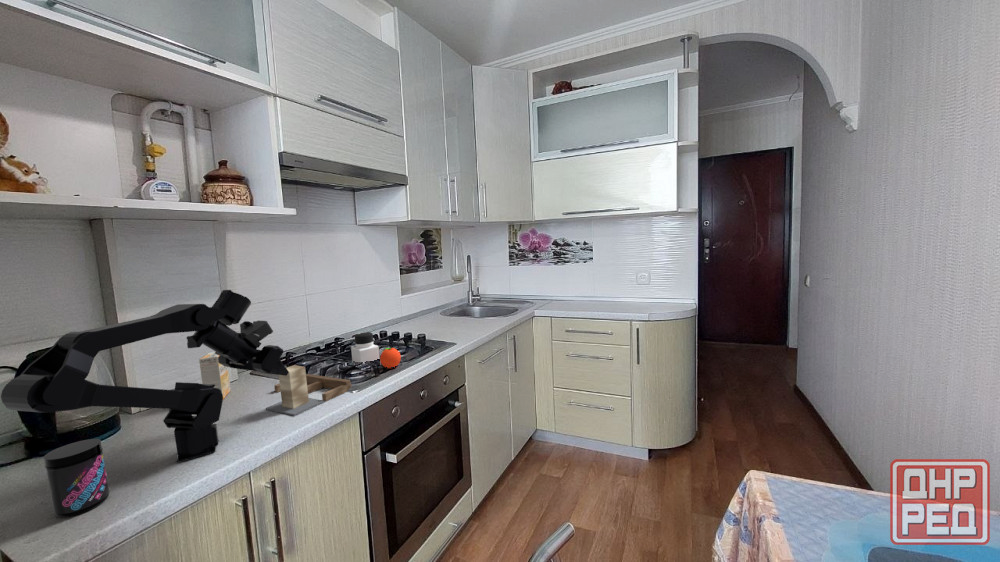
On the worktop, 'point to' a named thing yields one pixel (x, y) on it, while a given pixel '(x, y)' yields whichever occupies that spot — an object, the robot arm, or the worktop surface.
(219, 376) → the supplement box
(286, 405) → the beech block
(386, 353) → the clementine
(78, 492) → the supplement container
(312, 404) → the rubber mat
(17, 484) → the worktop surface
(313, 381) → the lane rack
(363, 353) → the medicine bottle
